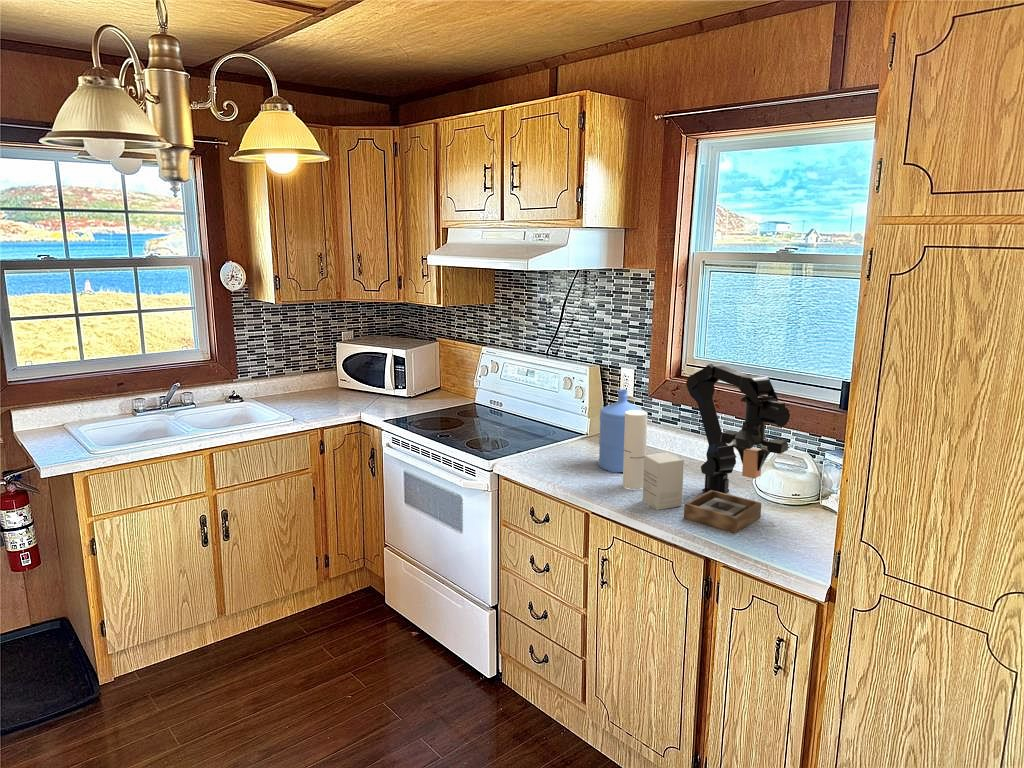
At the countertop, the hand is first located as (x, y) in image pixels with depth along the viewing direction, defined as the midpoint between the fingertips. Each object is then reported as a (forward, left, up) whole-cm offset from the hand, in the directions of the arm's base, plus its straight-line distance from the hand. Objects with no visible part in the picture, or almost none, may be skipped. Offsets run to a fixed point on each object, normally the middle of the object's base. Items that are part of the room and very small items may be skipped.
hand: (751, 469), depth 209 cm
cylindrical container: (-36, -9, -12) cm, 39 cm away
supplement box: (-21, -16, -12) cm, 29 cm away
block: (0, 0, -2) cm, 2 cm away
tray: (-2, -14, -12) cm, 18 cm away
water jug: (-51, +5, -12) cm, 53 cm away
